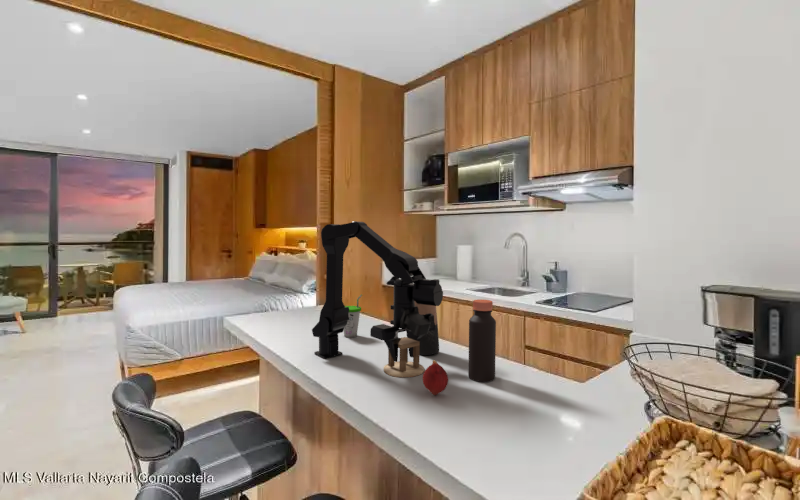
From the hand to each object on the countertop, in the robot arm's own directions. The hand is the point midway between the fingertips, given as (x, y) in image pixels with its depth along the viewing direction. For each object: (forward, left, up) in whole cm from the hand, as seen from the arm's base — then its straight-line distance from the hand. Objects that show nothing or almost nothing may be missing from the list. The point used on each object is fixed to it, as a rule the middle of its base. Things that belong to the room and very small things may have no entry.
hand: (403, 359), depth 107 cm
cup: (-39, +8, -3) cm, 40 cm away
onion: (+17, -5, -3) cm, 18 cm away
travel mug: (-7, +16, -3) cm, 17 cm away
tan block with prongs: (0, 0, -2) cm, 2 cm away
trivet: (0, 0, -3) cm, 3 cm away
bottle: (+17, +12, -3) cm, 21 cm away
